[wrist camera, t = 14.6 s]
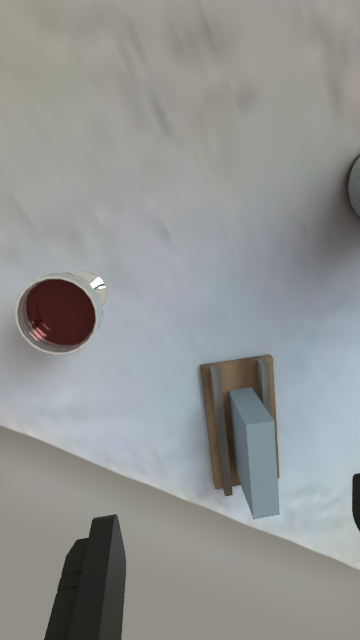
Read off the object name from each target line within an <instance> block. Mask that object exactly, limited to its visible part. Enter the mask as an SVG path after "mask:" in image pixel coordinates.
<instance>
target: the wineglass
mask: <svg viewBox="0 0 360 640" xmlns="http://www.w3.org/2000/svg"><path fill="white" fill-rule="evenodd" d="M106 297H107V293H106V287H105V285H104V283H103V281H102V280H101V279H100V278H99V277H98V276H96V275H95V274H92V273H89V272H78V273H75V274H70V273H52V274H49V275H46V276H43V277H41V278H40V279H37V280H34V281H33V282H31V283H30V284H29V285H27V286H26V287H25V288H24V289H23V290H22V292H21V294H20V295H19V297H18V298H17V302H16V306H15V320H16V325H17V327H18V329H19V331H20V333H21V335H22V336H23V337H24V338H25V340H26V341H27V342H28V343H29V344H30V345H31V346H33V347H35V348H36V349H38V350H40V351H41V352H45V353H49V354H53V355H67V354H70V353H73V352H76V351H79V350H80V349H81V348H83V347H84V346H85V345H87V344H88V343H89V342H90V340H91V339H92V337H93V336H94V335H95V333H96V332H97V330H98V329H99V327H100V324H101V320H102V317H103V314H102V306H103V304H104V303H105V300H106Z"/></svg>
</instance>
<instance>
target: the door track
mask: <svg viewBox="0 0 360 640" xmlns="http://www.w3.org/2000/svg"><path fill="white" fill-rule="evenodd" d="M201 372H202V381H203V390H204V398H205V407H206V416H207V425H208V433H209V442H210V451H211V460H212V468H213V477H214V485H215V489H220V488H223V490H224V494H225V496H229V495H233V494H232V486H237V485H241V484H240V481H239V478H238V476H237V473H236V468H235V457H234V446H233V435H232V424H231V414H230V403H229V392H228V391H231V390H237V389H244V388H250V387H252V389H253V390H254V392H255V393H256V395H257V396H258V398H259V399H260V401H261V402H262V404H263V405H264V406H265V408H266V409H267V411H268V412H269V414H270V415H271V417H272V418H273V420H274V426H275V444H276V462H277V479H278V478H279V464H278V446H277V428H276V410H275V392H274V375H273V357H272V356H271V355H264V356H258V357H251V358H244V359H237V360H231V361H224V362H217V363H211V364H204V365H201Z"/></svg>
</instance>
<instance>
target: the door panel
mask: <svg viewBox="0 0 360 640" xmlns="http://www.w3.org/2000/svg"><path fill="white" fill-rule="evenodd" d="M228 392H229V403H230V414H231V424H232V435H233V446H234V457H235V468H236V473H237V476H238V478H239V481H240V484H241V486H242V489H243V492H244V494H245V497H246V500H247V503H248V505H249V508H250V511H251V513H252V516H253V519H257V518H263V517H268V516H274V515H279V497H278V480H277V462H276V444H275V426H274V420H273V418H272V417H271V415H270V414H269V412H268V411H267V409H266V408H265V406H264V405H263V404H262V402H261V401H260V399H259V398H258V396H257V395H256V393H255V392H254V390H253V389H252V387H250V388H244V389H237V390H231V391H228Z"/></svg>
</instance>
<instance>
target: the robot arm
mask: <svg viewBox="0 0 360 640" xmlns="http://www.w3.org/2000/svg"><path fill="white" fill-rule="evenodd" d="M348 191H349V198H350V202H351V205H352V207H353V208H354V210H355V212H356V213H357V214H358V215H359V216H360V156H359V158H358V159H357V160H356V162H355V164H354V166H353V168H352V170H351V174H350V177H349V185H348ZM352 512H353V517H354V520H355V523H356V525H357V527H358V529H359V531H360V473H358V474H354V476H353V489H352ZM125 579H126V558H125V550H124V545H123V540H122V535H121V531H120V525H119V520H118V516H117V515H116V514H115V515H109V516H103V517H97V518H94V519H93V520H92V525H91V529H90V534H89V538H84V539H79V540H77V541H76V542H75V544H74V545H73V547H72V548H71V550H70V551H69V553H68V554H67V556H66V559H65V563H64V567H63V571H62V577H61V578H60V582H59V585H58V589H57V591H58V592H57V594H56V597H55V601H54V604H53V608H52V612H51V616H50V620H49V623H48V628H47V631H46V635H45V639H44V640H121V634H122V620H123V606H124V593H125Z"/></svg>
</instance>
